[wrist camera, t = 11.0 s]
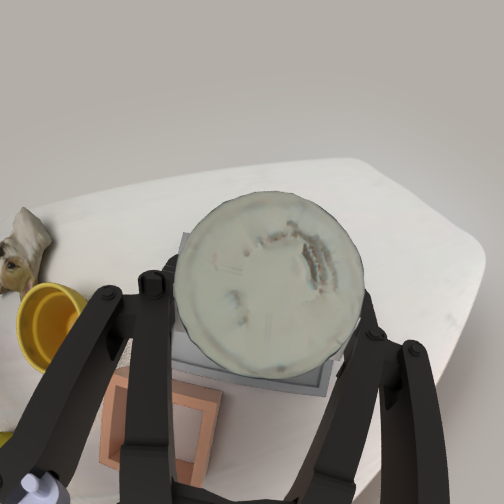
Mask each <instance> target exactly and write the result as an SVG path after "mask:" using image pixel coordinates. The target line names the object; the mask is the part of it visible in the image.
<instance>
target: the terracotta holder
mask: <svg viewBox="0 0 504 504" xmlns="http://www.w3.org/2000/svg"><path fill="white" fill-rule="evenodd" d="M129 368H130V366H126V367H123V368H119V369H115V371H114V373H113V376H112V378H111V380H110V383H109V385H108V388H107V390H106V392H105V396H104V404H103V414H102V425H101V437H100V453H99V463H101V464H104V465H106V466H108V467H111V468H113V469H116V470H118V471H119V470H120V448H121V445H122V444H123V443H124V439H125V419H126V403H127V390H128V378H129ZM222 392H223V391H219V390H214V389H210V388H206V387H201V386H197V385H193V384H189V383H185V382H181V381H177V380H174V379H172V403H174V404H178V405H182V406H186V407H190V408H194V409H198V410H202V411H204V412H203V418H202V423H201V428H200V434H199V439H198V445H197V450H196V456H195V461H194V464H193V463H189V462H185V461H181V460H177V459H175V462H176V472H177V478H178V483H182V484H186V485H190V486H194V487H198V488H202V486H203V483H204V480H205V477H206V473H207V468H208V463H209V458H210V453H211V448H212V443H213V438H214V433H215V427H216V422H217V417H218V412H219V407H220V402H221V397H222Z"/></svg>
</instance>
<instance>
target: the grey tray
mask: <svg viewBox="0 0 504 504" xmlns="http://www.w3.org/2000/svg"><path fill="white" fill-rule="evenodd" d="M189 235H190V233H185V232H183V236H182V239H181V243H180V247H179V251H178V255H179V254H180V252H181V251H182V249H183V247H184V244H185V242H186V240H187V237H188V236H189ZM171 333H172V369H174V370H178V371H182V372H186V373H190V374H194V375H198V376H203V377H207V378H211V379H216V380H220V381H225V382H230V383H235V384H240V385H245V386H251V387H256V388H262V389H268V390H275V391H281V392H288V393H295V394H303V395H312V396H321V397H326V393H327V388H328V384H329V379H330V374H331V369H332V364H333V360H330V359H328V360H327V361H326V362H325V363H323V364H322V365H321V366H319V367H317V368H316V369H314V370H312V371H310V372H308V373H305V374H303V375H300V376H297V377H293V378H289V379H284V380H265V379H253V378H248V377H243V376H239V375H237V374H234V373H232V372H230V371H227V370H225V369H223V368H222V367H220V366H218V365H217V364H215V363H214V362H213V361H211V360H210V359H209V358H207V357H206V356H205V355H204V354H203V353H202V352H201V350H200V349H199V348H198V347H197V346H196V345H195V344H194V343H193V342H191V341H190V339H189V337H188V335H187V333H183V332H179V331H175V323H174V325H173V327H172V329H171Z"/></svg>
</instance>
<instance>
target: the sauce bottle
mask: <svg viewBox="0 0 504 504" xmlns="http://www.w3.org/2000/svg"><path fill="white" fill-rule="evenodd" d="M174 294H175V302H176V307H177V311H178V314H179V317H180V320H181V322H182V324H183V327H184V329H185V331H186V333H187V335H188V337H189V339H190V341H191V342H193V343H194V344H195V345H196V346H197V347H198V348H199V349H200V350H201V352H202V353H203V354H204V355H205V356H206V357H207V358H209V359H210V360H211V361H213V362H214V363H215V364H217V365H218V366H220V367H222V368H223V369H225V370H227V371H230V372H232V373H234V374H237V375H239V376H243V377H248V378H253V379H265V380H284V379H289V378H293V377H297V376H300V375H303V374H305V373H308V372H310V371H312V370H314V369H316V368H317V367H319V366H321V365H322V364H323V363H325V362H326V361H327V360H328V359H329V358H331V357H332V356H334V355H335V354H336V353H337V352H338V351H339V349H340V348H341V347H342V346H343V344H344V343H345V342H346V341H347V340H348V338H349V337H350V336H351V335H352V332H353V331H354V329H355V327H356V324H357V322H358V320H359V318H360V316H361V310H362V304H363V300H364V296H365V286H364V269H363V265H362V260H361V257H360V254H359V252H358V250H357V248H356V246H355V245H354V243H353V242H352V240H351V239H350V237H349V235H348V234H347V232H346V231H345V230H344V228H343V227H342V226H341V225H340V224H339V223H338V221H337V220H336V219H335V218H334V217H333V216H332V215H330V214H329V213H328V212H327V211H325V210H324V209H323V208H321V207H320V206H318V205H317V204H315V203H314V202H311V201H309V200H306V199H303V198H301V197H299V196H297V195H295V194H293V193H284V192H279V191H263V192H254V193H251V194H247V195H243V196H240V197H238V198H235V199H232V200H229V201H226V202H223V203H222V204H221V205H219V206H218V207H217V208H215V209H214V210H212V211H211V212H210V213H209V214H208V215H207V216H206V217H205V218H204V219H202V220H201V221H200V222H199V223H198V224H197V226H196V227H195V228H194V229H193V231H192V232H191V233H190V235H189V236H188V237H187V240H186V242H185V244H184V247H183V249H182V251H181V252H180V254H179V256H178V259H177V262H176V271H175V273H174Z"/></svg>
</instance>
